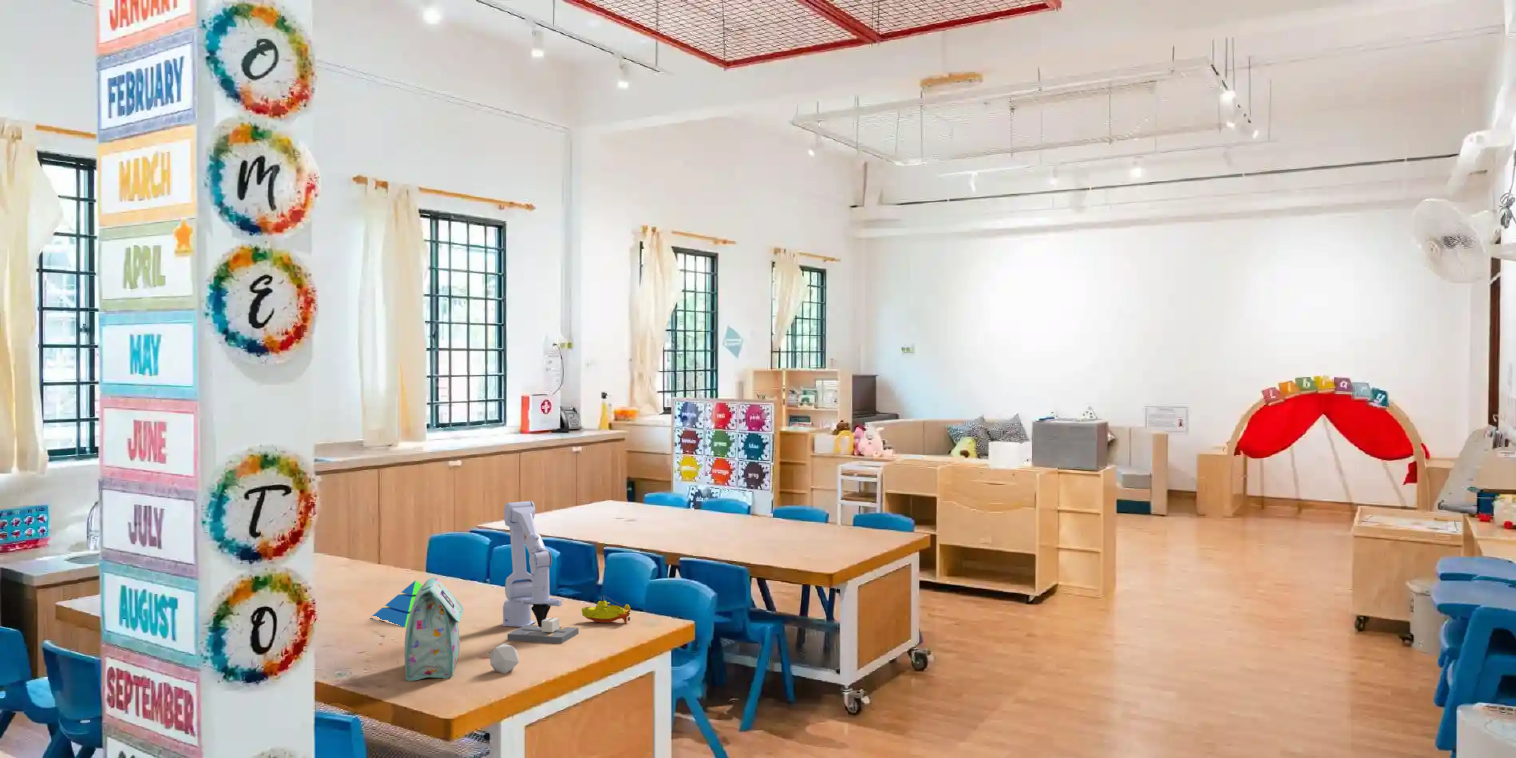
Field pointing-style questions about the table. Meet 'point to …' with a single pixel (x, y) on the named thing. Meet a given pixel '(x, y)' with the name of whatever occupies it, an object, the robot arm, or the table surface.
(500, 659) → the die
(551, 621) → the fader tab
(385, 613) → the pyramid toy
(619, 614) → the toy boat
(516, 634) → the console board
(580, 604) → the table surface
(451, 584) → the table surface
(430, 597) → the lunch bag
